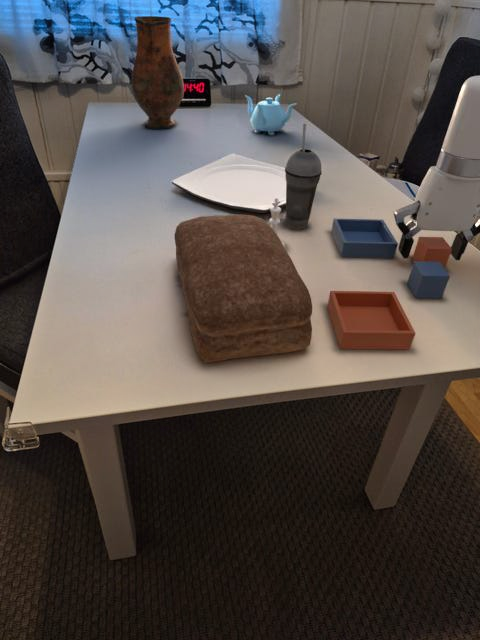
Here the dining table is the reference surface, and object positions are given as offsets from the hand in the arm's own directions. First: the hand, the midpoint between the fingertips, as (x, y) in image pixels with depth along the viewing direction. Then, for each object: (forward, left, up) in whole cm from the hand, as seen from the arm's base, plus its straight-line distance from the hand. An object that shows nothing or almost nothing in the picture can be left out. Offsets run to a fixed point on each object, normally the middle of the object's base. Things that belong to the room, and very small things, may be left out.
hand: (428, 255), depth 82 cm
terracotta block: (0, 0, -2) cm, 2 cm away
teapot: (+24, -84, -2) cm, 87 cm away
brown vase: (+60, -90, -2) cm, 108 cm away
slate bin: (+11, -7, -2) cm, 13 cm away
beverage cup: (+23, -15, -2) cm, 27 cm away
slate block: (+4, +9, -2) cm, 10 cm away
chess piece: (+29, -5, -2) cm, 29 cm away
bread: (+36, +13, -2) cm, 39 cm away
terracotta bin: (+16, +19, -2) cm, 25 cm away
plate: (+33, -34, -2) cm, 47 cm away
